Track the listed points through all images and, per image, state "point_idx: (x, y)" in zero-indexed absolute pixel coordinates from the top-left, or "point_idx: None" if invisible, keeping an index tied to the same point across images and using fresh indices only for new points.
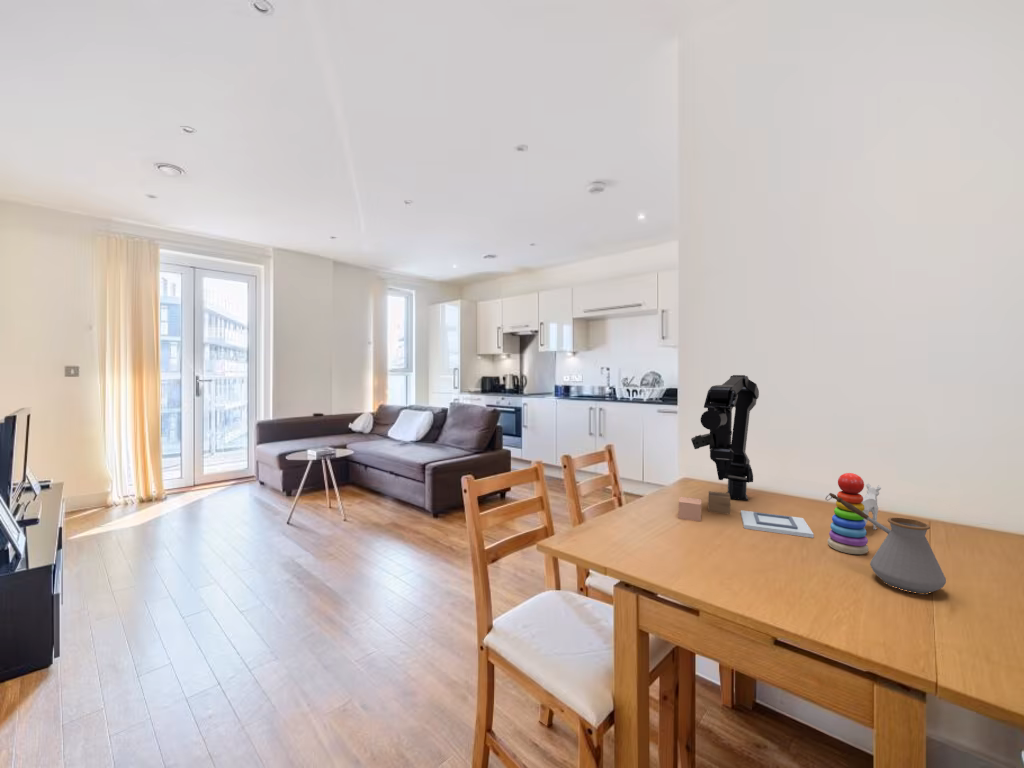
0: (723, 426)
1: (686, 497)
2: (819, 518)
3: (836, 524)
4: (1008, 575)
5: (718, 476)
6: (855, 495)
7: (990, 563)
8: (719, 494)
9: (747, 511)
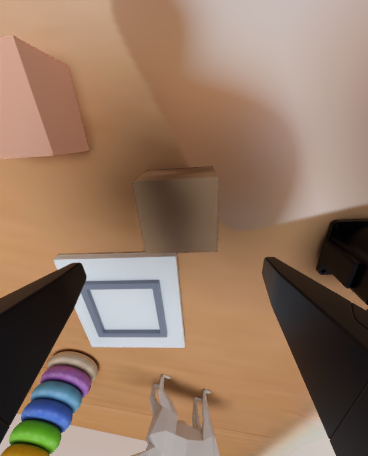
0: None
1: (26, 78)
2: (220, 360)
3: (37, 399)
4: (104, 430)
5: (53, 274)
6: None
7: (131, 431)
8: (179, 220)
9: (173, 269)
